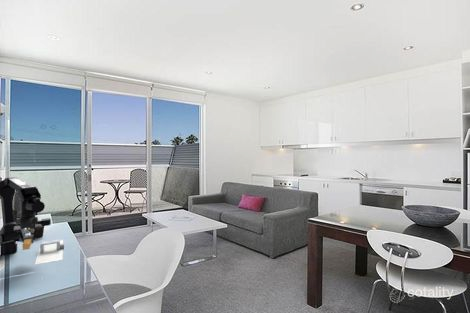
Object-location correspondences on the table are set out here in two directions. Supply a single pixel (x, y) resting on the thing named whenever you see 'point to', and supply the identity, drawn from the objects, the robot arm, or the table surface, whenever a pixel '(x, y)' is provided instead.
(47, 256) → the mount plate
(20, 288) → the table surface
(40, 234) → the coffee mug
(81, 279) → the table surface
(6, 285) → the table surface
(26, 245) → the plug
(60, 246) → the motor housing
